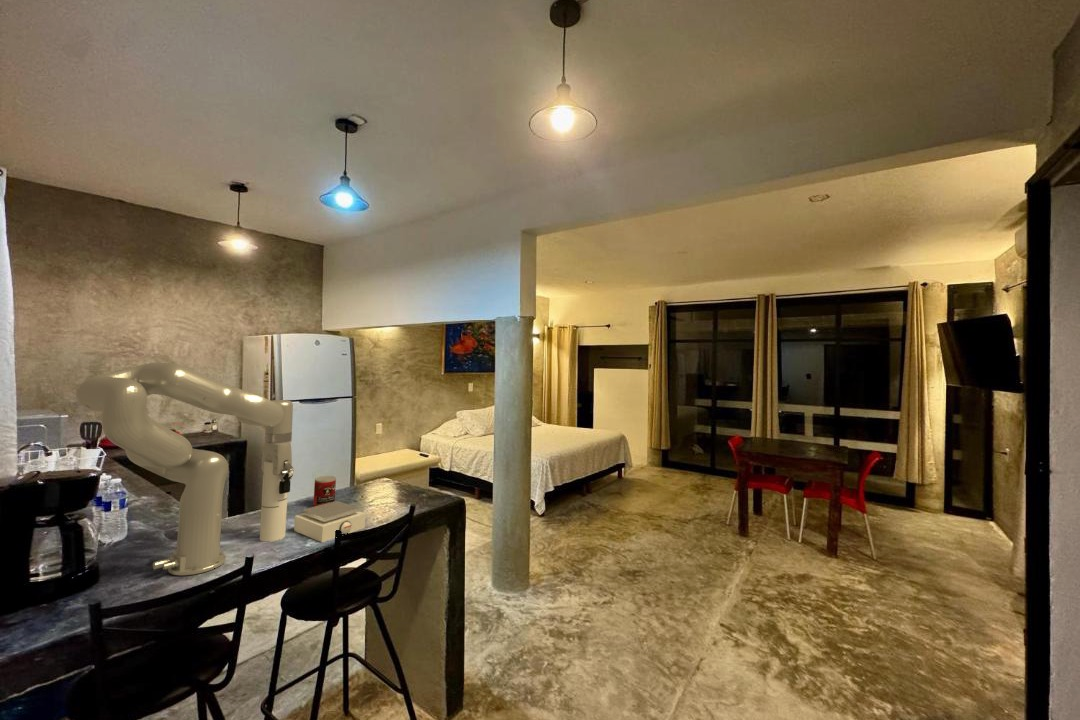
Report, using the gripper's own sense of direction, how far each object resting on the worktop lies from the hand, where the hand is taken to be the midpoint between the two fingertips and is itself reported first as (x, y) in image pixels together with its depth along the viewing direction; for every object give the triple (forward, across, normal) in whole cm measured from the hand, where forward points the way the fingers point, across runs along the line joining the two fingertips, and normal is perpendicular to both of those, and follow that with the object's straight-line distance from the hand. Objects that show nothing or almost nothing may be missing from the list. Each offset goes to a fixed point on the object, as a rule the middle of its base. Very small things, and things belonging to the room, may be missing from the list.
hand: (276, 489), depth 142 cm
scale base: (+16, +8, +14) cm, 23 cm away
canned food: (+16, -16, +27) cm, 35 cm away
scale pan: (+10, +8, +14) cm, 19 cm away
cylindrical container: (+16, 0, -1) cm, 16 cm away
